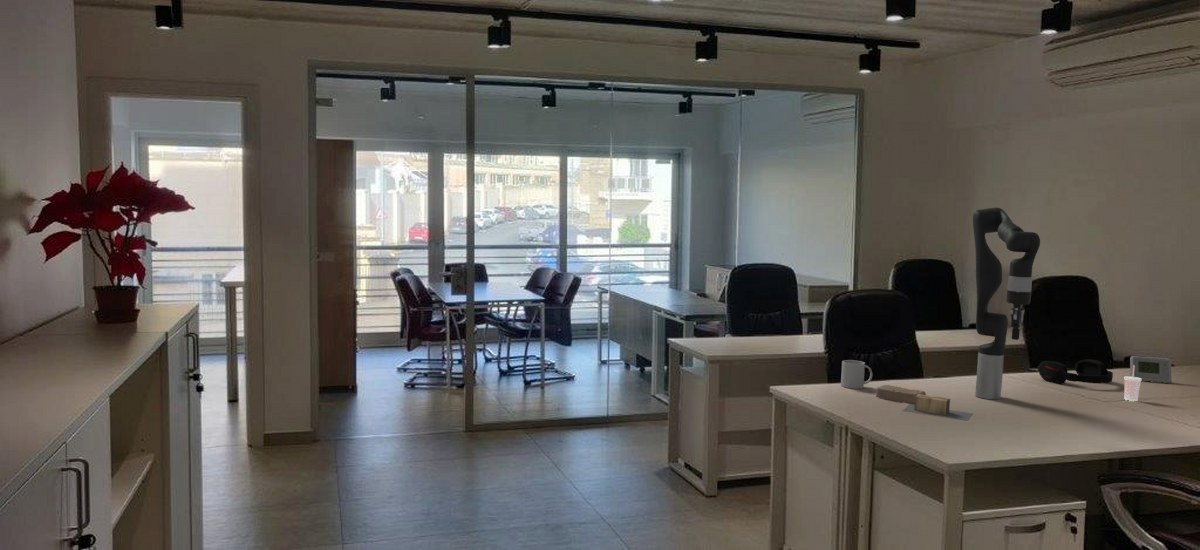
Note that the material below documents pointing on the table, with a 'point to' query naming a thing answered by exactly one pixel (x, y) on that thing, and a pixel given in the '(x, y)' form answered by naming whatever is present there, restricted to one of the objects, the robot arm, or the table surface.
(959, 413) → the mat
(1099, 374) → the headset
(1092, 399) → the table surface
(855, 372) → the mug
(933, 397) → the oak block
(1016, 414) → the table surface
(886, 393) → the brick
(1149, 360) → the digital clock
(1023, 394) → the table surface
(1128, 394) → the beverage cup
